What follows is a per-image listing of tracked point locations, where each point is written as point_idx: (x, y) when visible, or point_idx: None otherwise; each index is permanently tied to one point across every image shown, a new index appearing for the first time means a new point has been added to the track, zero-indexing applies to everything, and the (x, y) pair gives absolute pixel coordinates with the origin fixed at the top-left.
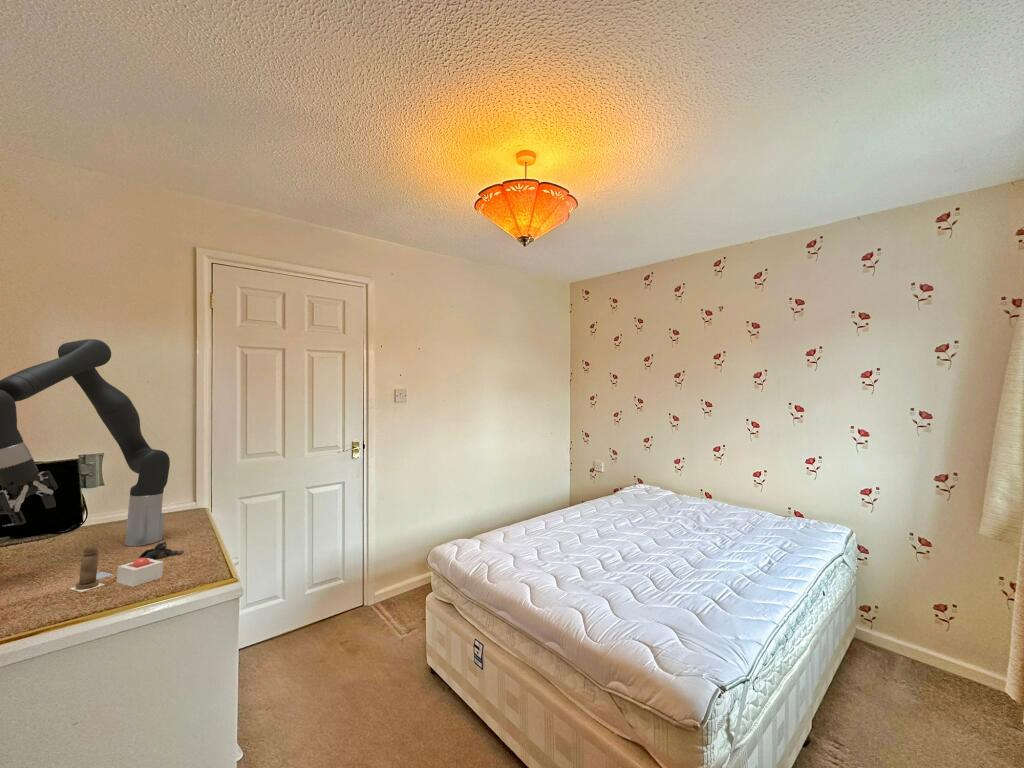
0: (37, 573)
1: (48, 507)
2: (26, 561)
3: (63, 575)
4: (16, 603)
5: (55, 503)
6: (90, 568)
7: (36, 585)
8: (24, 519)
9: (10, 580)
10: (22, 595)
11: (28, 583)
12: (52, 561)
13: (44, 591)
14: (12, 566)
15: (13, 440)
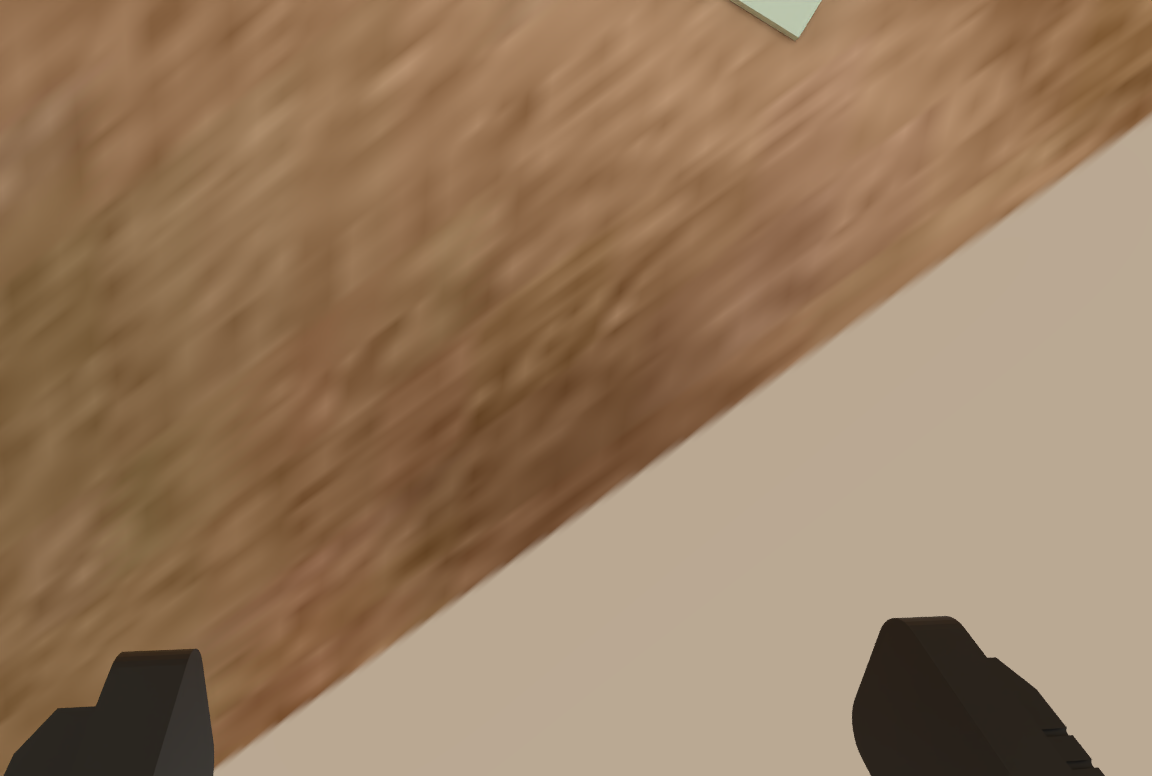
0: (417, 441)
1: (209, 746)
2: None
3: (477, 203)
4: (1107, 93)
5: (61, 719)
6: None
7: (696, 247)
8: (954, 665)
9: (556, 518)
10: (919, 185)
11: (640, 343)
12: (153, 529)
13: (858, 71)
14: (263, 711)
15: None
